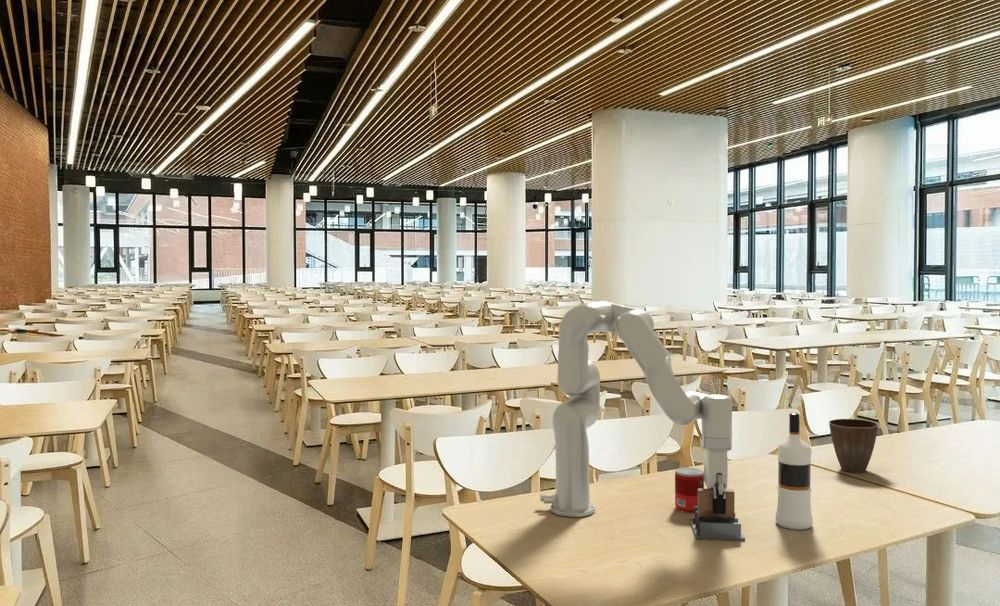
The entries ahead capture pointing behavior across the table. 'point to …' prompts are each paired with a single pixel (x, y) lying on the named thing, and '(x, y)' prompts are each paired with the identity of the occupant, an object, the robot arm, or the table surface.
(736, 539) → the rack
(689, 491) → the canned food
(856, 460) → the plant pot
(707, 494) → the board
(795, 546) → the table surface
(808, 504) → the vodka
